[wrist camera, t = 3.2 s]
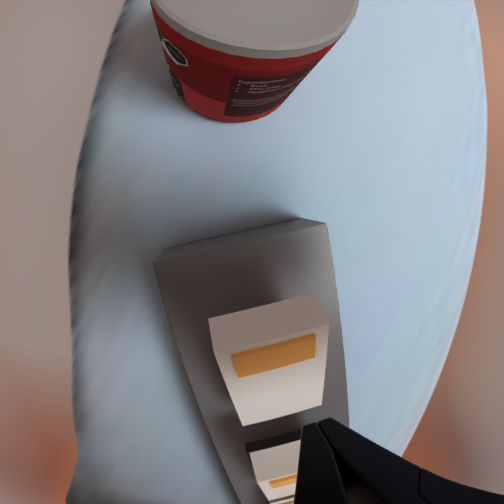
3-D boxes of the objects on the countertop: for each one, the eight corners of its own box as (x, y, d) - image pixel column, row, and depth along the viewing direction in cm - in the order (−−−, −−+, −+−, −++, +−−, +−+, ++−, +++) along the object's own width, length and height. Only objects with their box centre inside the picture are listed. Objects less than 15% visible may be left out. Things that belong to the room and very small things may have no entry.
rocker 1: (311, 379, 17) (322, 407, 16) (236, 399, 17) (243, 429, 15) (313, 292, 13) (331, 327, 11) (208, 318, 13) (214, 357, 11)
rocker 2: (322, 462, 19) (331, 485, 17) (262, 479, 18) (269, 503, 17) (330, 430, 15) (343, 461, 13) (249, 452, 14) (257, 485, 12)
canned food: (197, 13, 17) (198, -98, 7) (304, 49, 19) (375, -41, 8) (152, 104, 18) (103, 17, 7) (269, 143, 20) (335, 88, 9)
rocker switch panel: (337, 495, 26) (353, 528, 21) (257, 517, 25) (265, 553, 20) (301, 218, 21) (333, 224, 15) (164, 249, 20) (149, 267, 14)
